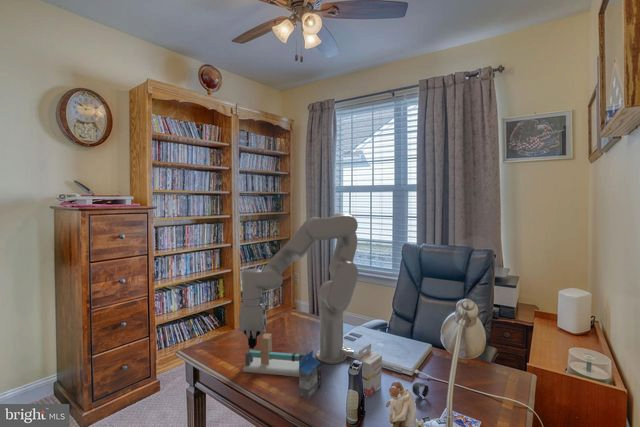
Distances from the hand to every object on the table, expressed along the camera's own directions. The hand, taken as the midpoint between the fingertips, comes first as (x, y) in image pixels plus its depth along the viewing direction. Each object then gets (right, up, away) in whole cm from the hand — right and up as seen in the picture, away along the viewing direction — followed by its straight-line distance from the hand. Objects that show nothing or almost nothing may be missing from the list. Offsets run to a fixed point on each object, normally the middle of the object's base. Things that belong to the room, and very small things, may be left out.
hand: (252, 347), depth 128 cm
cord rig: (+10, -8, -1) cm, 12 cm away
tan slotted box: (+6, -5, -1) cm, 8 cm away
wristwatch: (+60, -9, -20) cm, 64 cm away
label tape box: (+23, -9, -16) cm, 30 cm away
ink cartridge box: (+44, -9, -15) cm, 47 cm away
